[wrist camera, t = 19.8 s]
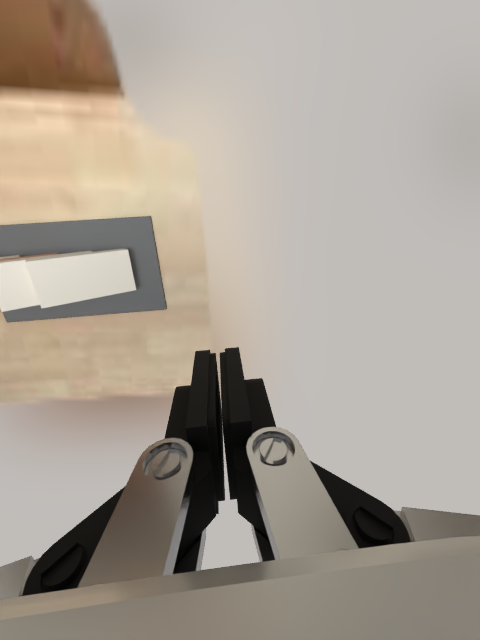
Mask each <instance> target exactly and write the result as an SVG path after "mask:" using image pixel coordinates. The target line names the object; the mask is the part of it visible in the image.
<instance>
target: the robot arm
mask: <svg viewBox="0 0 480 640" xmlns="http://www.w3.org/2000/svg"><path fill="white" fill-rule="evenodd" d="M220 369H221V370H220V371H221V400H222V410H221V400H220V391H219V381H218V371H217V362H216V353H212V354H210V350H205V351H196V352H195V359H194V366H193V374H192V381H191V385H189V386H179V387H176V389H175V393H174V398H173V403H172V407H171V412H170V416H169V421H168V425H167V430H166V434H165V439H163V440H160V441H157V442H156V443H154V444H152V445H151V446H149V447H148V448H147V449H146V450H145V451H144V452H143V453H142V455H141V456H140V458H139V459H138V461H137V464H136V465H135V468H134V470H133V472H132V474H131V476H130V478H129V481H128V482H127V485H126V486H125V487H124V488H123V489H121V490H120V491H119V492H118V493H116V494H115V495H114V496H113V497H111V498H110V499H109V500H108V501H107V502H105V503H104V504H103V505H102V506H100V507H99V508H98V509H97V510H95V511H94V512H93V513H92V514H90V515H89V516H88V517H87V518H86V519H84V520H83V521H82V522H81V523H79V524H78V525H77V526H76V527H74V528H73V529H72V530H71V531H69V532H68V533H67V534H66V535H64V536H63V537H62V538H61V539H59V540H58V541H57V542H56V543H54V544H53V545H52V546H51V547H50V548H49V549H48V550H47V551H46V552H45V553H44V554H43V555H42V556H41V558H39V559H36V560H34V559H33V557H32V556H29V557H27V558H24V559H21V560H18V561H15V562H13V563H10V564H7V565H4V566H2V567H0V640H480V516H478V515H470V514H461V513H451V512H443V511H435V510H426V509H417V508H408V507H402V510H401V511H393V510H392V509H391V508H390V507H388V506H387V505H386V504H384V503H383V502H381V501H380V500H378V499H376V498H374V497H373V496H371V495H369V494H367V493H366V492H364V491H362V490H360V489H359V488H357V487H355V486H353V485H352V484H350V483H348V482H346V481H345V480H343V479H341V478H339V477H338V476H336V475H334V474H332V473H331V472H329V471H327V470H325V469H323V468H322V467H320V466H318V465H317V464H315V463H313V462H311V461H310V460H309V459H308V457H307V455H306V453H305V452H304V450H303V448H302V446H301V444H300V443H299V441H298V440H297V438H296V437H295V436H294V435H293V434H292V433H290V432H289V431H287V430H284V429H282V428H277V427H276V425H275V421H274V418H273V414H272V411H271V407H270V404H269V400H268V397H267V393H266V390H265V386H264V382H263V379H261V378H260V379H250V380H244V376H243V370H242V364H241V358H240V353H239V348H238V347H237V348H226V349H225V352H223V353H220ZM222 423H223V431H222ZM223 435H224V444H225V454H226V462H227V473H228V482H229V492H230V499H237V502H238V513H239V514H240V515H241V516H243V517H244V518H245V519H246V520H247V521H249V522H250V523H251V526H252V533H253V537H254V540H255V544H256V548H257V552H258V556H259V560H260V562H258V563H250V564H243V565H236V566H229V567H222V568H215V569H207V570H201V565H202V558H203V552H204V546H205V539H206V527H207V526H208V525H209V523H210V522H211V521H212V520H213V519H214V518H215V516H216V514H218V501H224V500H225V489H224V463H223V461H224V460H223Z"/></svg>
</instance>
